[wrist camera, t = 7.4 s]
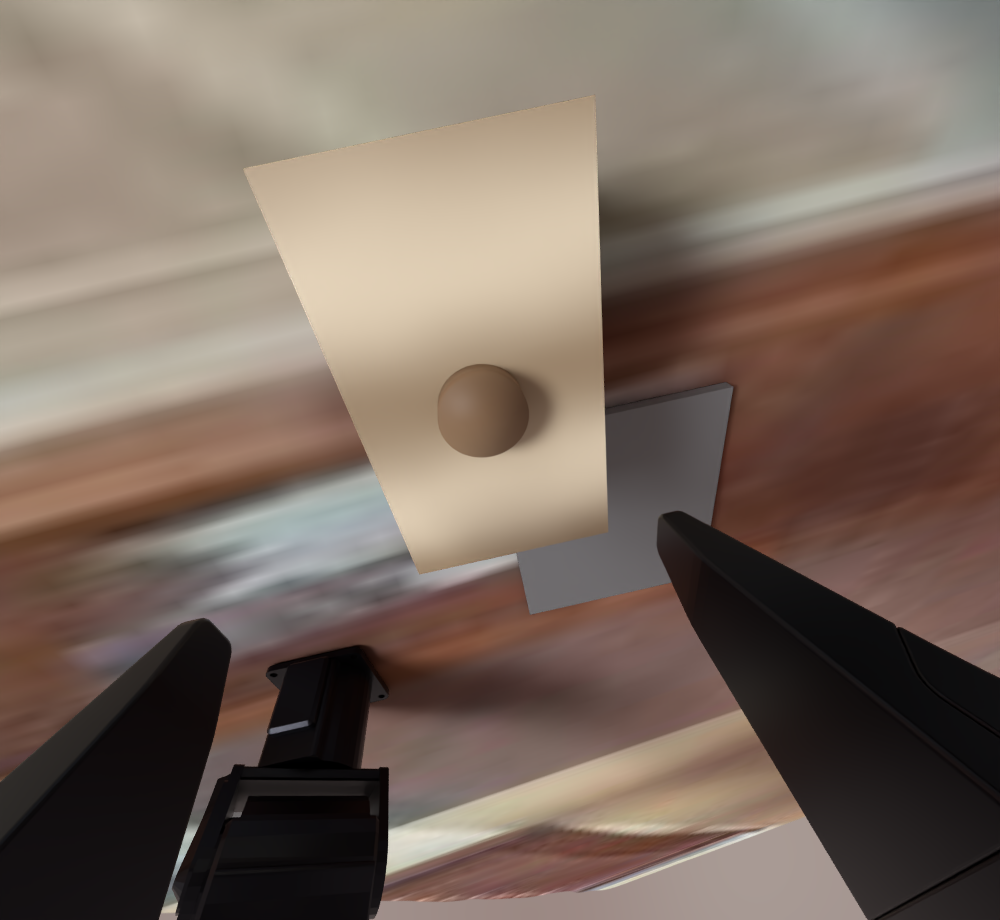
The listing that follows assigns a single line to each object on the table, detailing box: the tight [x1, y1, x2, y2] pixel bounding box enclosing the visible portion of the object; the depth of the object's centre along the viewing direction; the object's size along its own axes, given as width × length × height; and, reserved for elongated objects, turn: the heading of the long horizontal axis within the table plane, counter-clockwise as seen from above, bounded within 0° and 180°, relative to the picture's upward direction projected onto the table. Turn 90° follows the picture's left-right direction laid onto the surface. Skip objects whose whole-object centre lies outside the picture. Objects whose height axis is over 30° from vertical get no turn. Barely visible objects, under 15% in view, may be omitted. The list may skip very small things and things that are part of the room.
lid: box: [243, 95, 608, 574], centre depth 12 cm, size 12×7×4 cm, turn 10°
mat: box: [516, 382, 733, 615], centre depth 23 cm, size 14×12×1 cm
